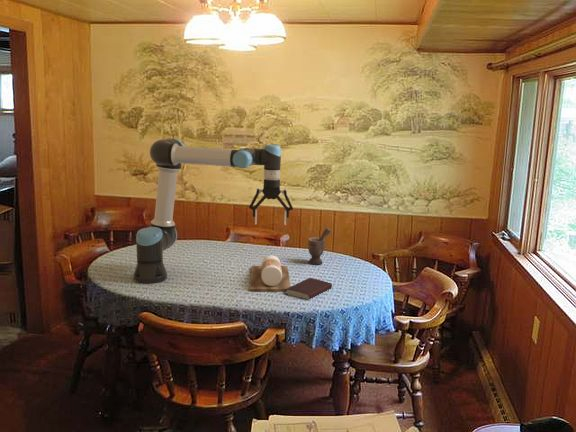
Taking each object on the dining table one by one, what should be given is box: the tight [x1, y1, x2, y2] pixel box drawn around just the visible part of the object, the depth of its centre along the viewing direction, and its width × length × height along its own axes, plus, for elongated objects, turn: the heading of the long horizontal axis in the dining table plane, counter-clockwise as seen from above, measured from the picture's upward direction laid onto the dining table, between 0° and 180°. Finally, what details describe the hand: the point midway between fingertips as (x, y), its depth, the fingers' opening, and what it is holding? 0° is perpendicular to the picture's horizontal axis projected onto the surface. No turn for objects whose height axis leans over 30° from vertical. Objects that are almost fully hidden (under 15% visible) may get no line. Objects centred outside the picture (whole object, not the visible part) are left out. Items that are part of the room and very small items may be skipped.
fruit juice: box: [261, 254, 282, 286], centre depth 252 cm, size 9×9×28 cm
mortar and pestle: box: [307, 227, 332, 266], centre depth 279 cm, size 12×9×20 cm
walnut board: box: [249, 265, 292, 293], centre depth 253 cm, size 18×36×1 cm, turn 3°
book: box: [285, 277, 333, 300], centre depth 238 cm, size 12×19×3 cm, turn 145°
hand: (270, 224), depth 248 cm, fingers open, 13 cm apart
